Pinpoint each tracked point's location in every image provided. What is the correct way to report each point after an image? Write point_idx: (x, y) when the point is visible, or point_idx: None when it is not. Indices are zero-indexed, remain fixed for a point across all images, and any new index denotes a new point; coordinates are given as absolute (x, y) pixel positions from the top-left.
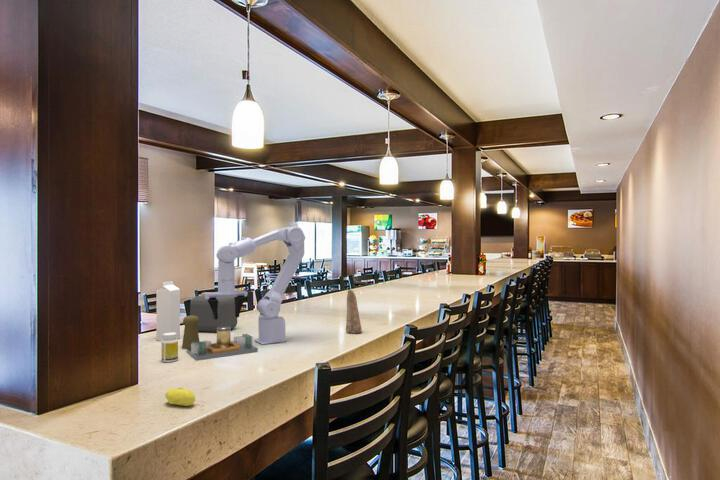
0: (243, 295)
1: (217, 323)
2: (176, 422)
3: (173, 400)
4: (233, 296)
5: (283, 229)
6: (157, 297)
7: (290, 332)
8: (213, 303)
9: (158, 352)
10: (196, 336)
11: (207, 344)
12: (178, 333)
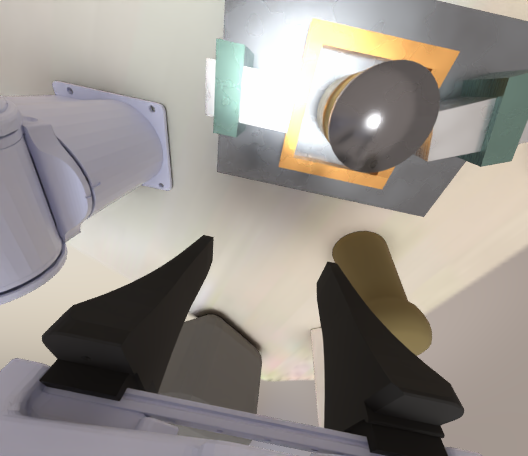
0: (46, 382)
1: (219, 337)
2: None
3: None
4: (169, 404)
5: None
6: None
7: None
8: (420, 367)
9: (459, 260)
10: (366, 260)
11: (459, 104)
12: (317, 340)
